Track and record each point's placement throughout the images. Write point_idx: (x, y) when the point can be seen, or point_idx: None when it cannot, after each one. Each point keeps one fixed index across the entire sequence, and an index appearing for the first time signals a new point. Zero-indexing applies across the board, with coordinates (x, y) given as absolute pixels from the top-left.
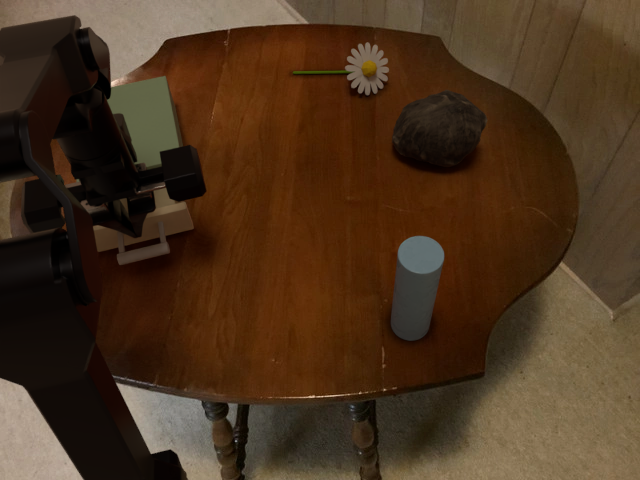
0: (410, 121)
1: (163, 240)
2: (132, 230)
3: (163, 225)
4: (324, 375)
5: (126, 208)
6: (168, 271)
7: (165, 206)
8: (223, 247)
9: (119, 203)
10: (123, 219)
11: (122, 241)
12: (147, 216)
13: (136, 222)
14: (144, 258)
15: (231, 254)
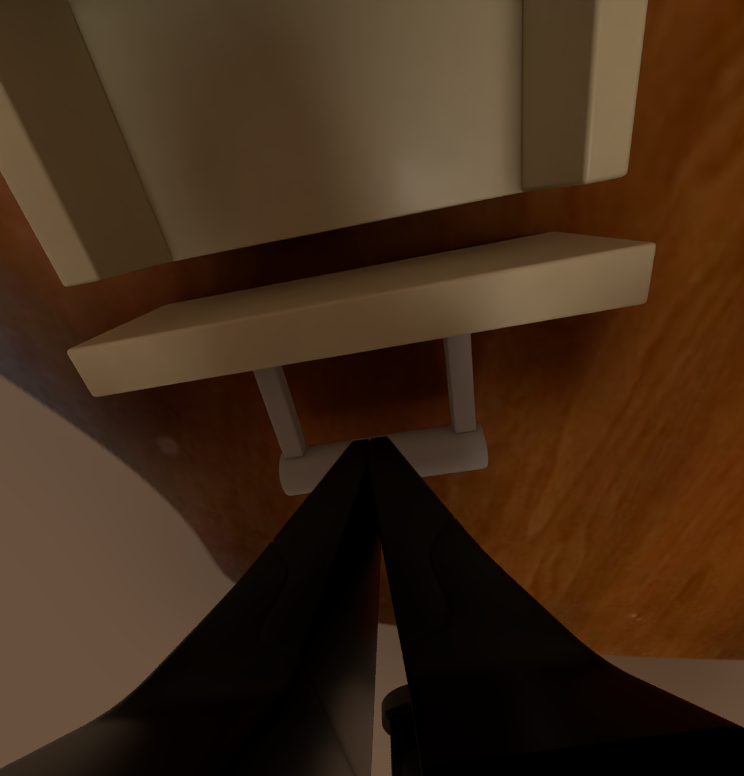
0: None
1: (468, 425)
2: (377, 562)
3: (468, 334)
4: (712, 640)
5: (239, 115)
6: (431, 412)
7: (523, 268)
8: (624, 345)
9: (314, 716)
10: (360, 717)
11: (286, 410)
12: (411, 333)
13: (469, 761)
14: None
15: (641, 376)
